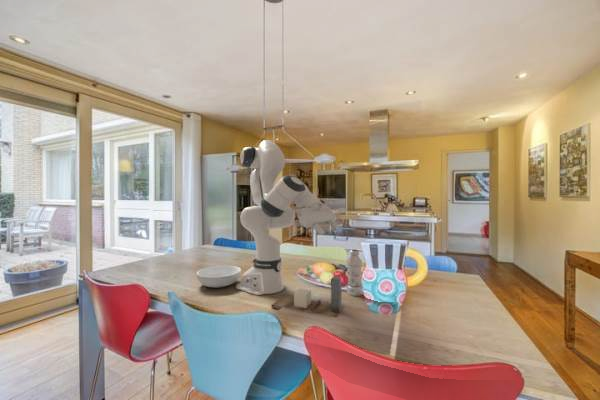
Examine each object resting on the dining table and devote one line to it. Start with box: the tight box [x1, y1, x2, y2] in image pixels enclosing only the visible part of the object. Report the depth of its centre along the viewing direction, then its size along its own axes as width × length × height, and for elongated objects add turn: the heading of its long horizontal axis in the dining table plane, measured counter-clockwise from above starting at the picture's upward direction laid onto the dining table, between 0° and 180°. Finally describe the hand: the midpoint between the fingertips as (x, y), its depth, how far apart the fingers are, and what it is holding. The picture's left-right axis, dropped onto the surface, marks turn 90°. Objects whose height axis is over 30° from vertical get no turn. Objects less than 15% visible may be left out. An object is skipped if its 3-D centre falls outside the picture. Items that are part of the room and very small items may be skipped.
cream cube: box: [293, 288, 312, 308], centre depth 101 cm, size 5×5×5 cm
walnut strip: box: [271, 276, 345, 318], centre depth 100 cm, size 26×10×13 cm, turn 66°
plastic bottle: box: [346, 249, 363, 297], centre depth 113 cm, size 6×7×20 cm
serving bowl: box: [196, 265, 242, 289], centre depth 128 cm, size 21×21×7 cm
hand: (329, 232), depth 101 cm, fingers open, 8 cm apart
